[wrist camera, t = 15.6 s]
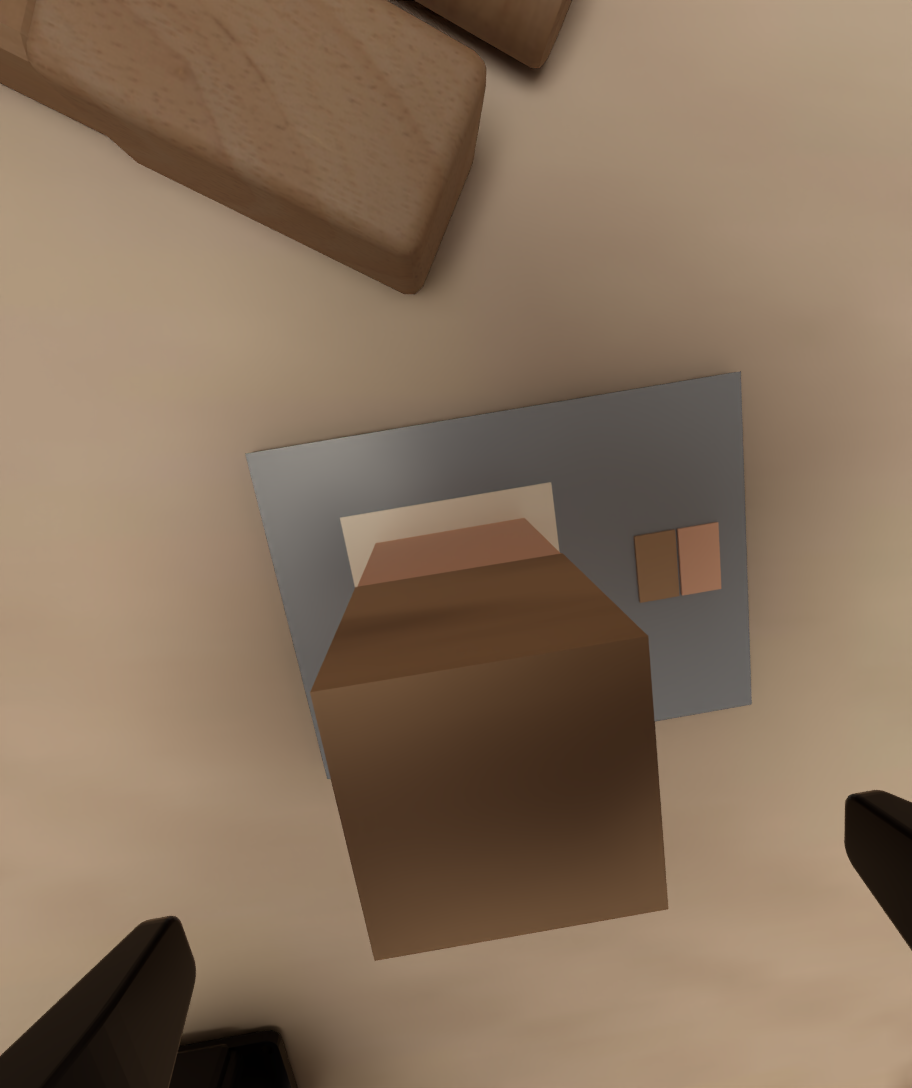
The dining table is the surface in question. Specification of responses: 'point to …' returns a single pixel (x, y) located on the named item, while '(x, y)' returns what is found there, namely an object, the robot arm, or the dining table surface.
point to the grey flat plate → (542, 518)
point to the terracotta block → (455, 551)
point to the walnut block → (492, 755)
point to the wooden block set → (286, 105)
